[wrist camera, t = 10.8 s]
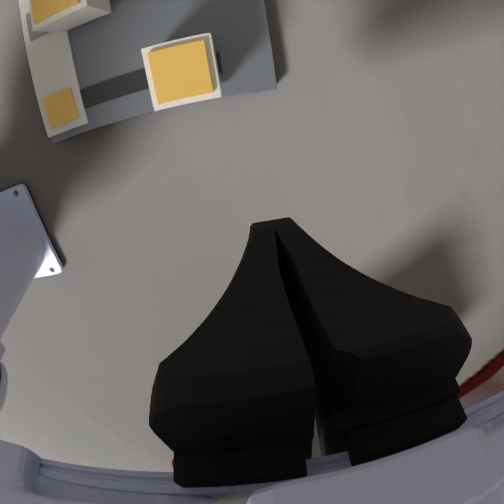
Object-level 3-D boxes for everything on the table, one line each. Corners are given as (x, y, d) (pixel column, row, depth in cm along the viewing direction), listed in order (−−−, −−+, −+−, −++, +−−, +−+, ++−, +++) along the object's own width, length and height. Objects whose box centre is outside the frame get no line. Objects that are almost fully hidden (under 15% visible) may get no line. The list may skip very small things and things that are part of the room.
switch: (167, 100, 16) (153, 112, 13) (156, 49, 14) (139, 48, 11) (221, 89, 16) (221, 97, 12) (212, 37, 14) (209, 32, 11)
